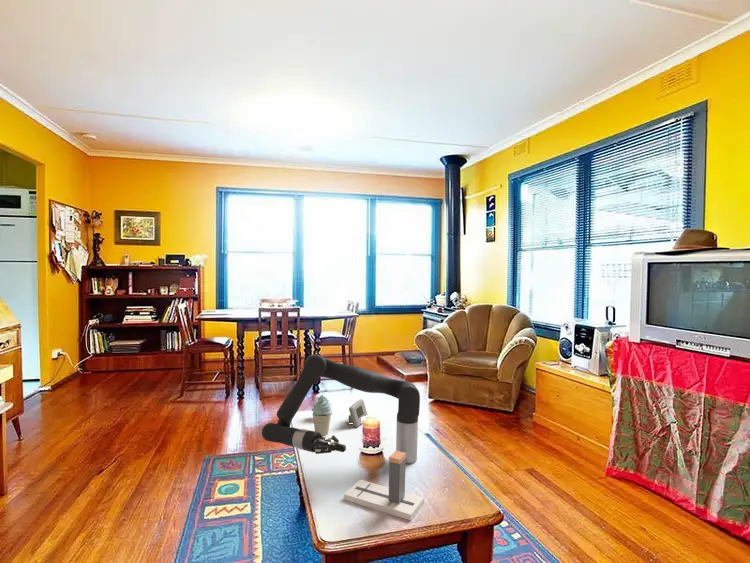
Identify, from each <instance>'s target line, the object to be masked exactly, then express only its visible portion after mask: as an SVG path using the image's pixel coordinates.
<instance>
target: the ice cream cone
mask: <svg viewBox="0 0 750 563" xmlns="http://www.w3.org/2000/svg"><path fill="white" fill-rule="evenodd" d="M316 400H317V401H316V402H314V404H313V407H312V408H311V412H312V420H313V426H314V427H313V428H314V431H315V432H319V433H320V434H321V436H322V437H325V436H327V435H328V434H329V430H330V422H331V418H332V417H331V416H332V415H331V413H332V414H333V410H332V403H330V400H329V399H328V398H327V397H326V396H324V394H320V395H319V396H318V397H316Z"/></svg>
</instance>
